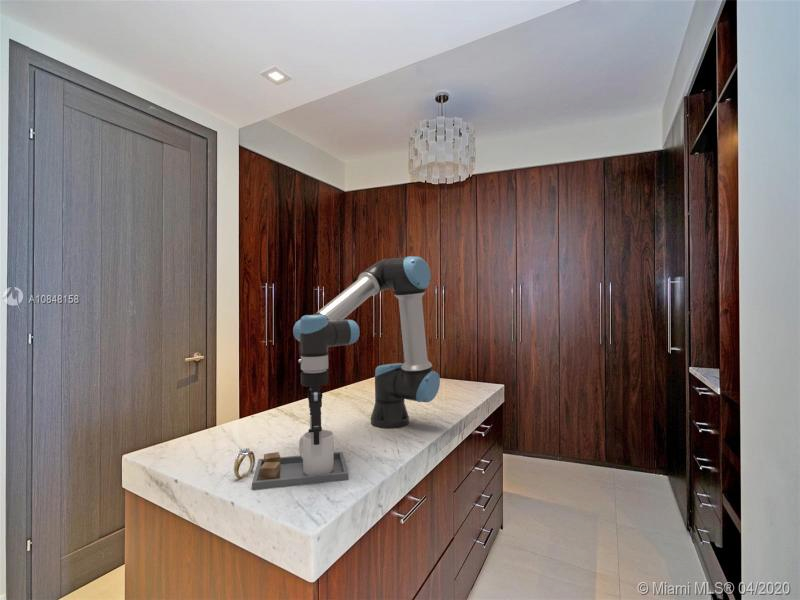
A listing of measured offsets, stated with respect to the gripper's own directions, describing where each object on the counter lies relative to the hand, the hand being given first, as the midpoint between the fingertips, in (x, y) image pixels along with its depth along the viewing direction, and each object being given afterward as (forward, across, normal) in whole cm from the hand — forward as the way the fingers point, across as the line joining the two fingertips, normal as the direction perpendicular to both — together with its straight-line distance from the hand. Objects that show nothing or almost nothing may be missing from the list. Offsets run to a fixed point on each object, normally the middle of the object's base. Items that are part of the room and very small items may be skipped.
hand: (315, 446), depth 112 cm
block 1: (+6, -3, -12) cm, 14 cm away
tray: (+7, 0, -4) cm, 8 cm away
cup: (+7, 0, -1) cm, 7 cm away
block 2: (+6, +4, -12) cm, 14 cm away
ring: (+7, -1, -19) cm, 20 cm away
